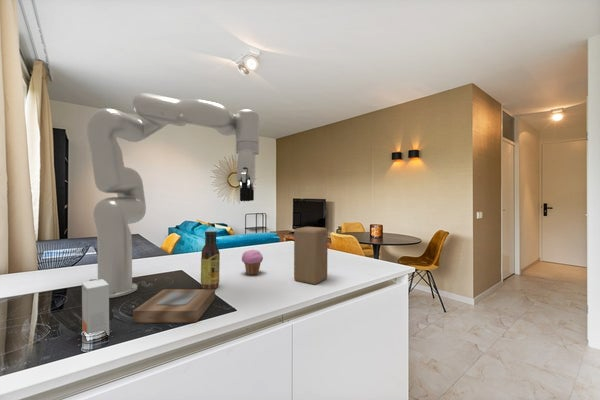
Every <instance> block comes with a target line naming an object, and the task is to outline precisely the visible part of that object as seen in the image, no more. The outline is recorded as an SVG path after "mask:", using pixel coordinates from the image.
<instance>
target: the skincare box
mask: <svg viewBox="0 0 600 400" xmlns="http://www.w3.org/2000/svg"><path fill="white" fill-rule="evenodd" d="M81 305H82V306H81V311H82V312H81V313H82V314H81V315H82V316H81V317H82V320H81V321H82V322H81V323H82V324H81V325H82V326H81V327H82V331H85V332H86V333H87V334H89V333H93V332H98V331H106V333H107V335H108V336H110V298H109V284H108V283H107V282H106V281H104V280H103V279H100V280H94V281H89V280H88V281H84V282H82V283H81ZM108 336H107V337H108Z"/></svg>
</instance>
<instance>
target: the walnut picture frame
mask: <svg viewBox="0 0 600 400" xmlns="http://www.w3.org/2000/svg"><path fill="white" fill-rule="evenodd" d="M215 300H216V288H214V289H202V288H201V289H199V288H195V289H189V288H188V289H185V288H184V289H179V288H177V289H175V288H174V289H173V288H172V289H171V288H169V289H167V288H166V289H165V288H164V289H162V290H161V291H159V292H157V293H156V294H155V295H154V296H152V297H151V298H149V299H148V300H147V301H145V302H143V303H142V304H141V305H139V306H138V307H137V308H135V309H133V310H132V323H134V324H135V323H141V324H142V323H147V324H149V323H154V324H155V323H157V324H158V323H160V324H161V323H168V324H169V323H174V324H175V323H178V324H179V323H181V324H182V323H189V324H190V323H192V324H193V323H197V322H198V321H199V320H200V319H201V317H202V316H203V315H204V314H205V312H206V311H207V310H208V309H209V307H210V306H211V304H212V303H213V302H214V301H215Z"/></svg>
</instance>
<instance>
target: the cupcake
mask: <svg viewBox="0 0 600 400" xmlns="http://www.w3.org/2000/svg"><path fill="white" fill-rule="evenodd" d="M263 260H264V257H263V254H262V253H261V251H259V250H255V249H249V250H246V251H244V252H243V253H242V256H241V262H242V263H244V269H245V272H246V274H247V275H249V276H250V275H252V276H253V275H254V276H255V275H259V273H260V267H261V263H263Z"/></svg>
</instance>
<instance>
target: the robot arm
mask: <svg viewBox="0 0 600 400" xmlns="http://www.w3.org/2000/svg"><path fill="white" fill-rule="evenodd" d="M132 108H133V111H134V112H135V113H136V116H132V115H130V114H127V113H125V112H124V111H121V110H119V109H115V108H110V107H107V108H105V107H104V108H100V109H98V110H96V111H95V112H94V113H92V115H91V116H90V117H89V119H88V122H87V124H86V136H87V137H86V138H87V140H88V144H89V145H88V146H89V148H90V154H91V155H90V156H91V163H92V171H93V176H94V177H93V178H94V179H93V180H94V182H95V183H94V184H95V186H96V189H97V190H99V191H100V192H102V193H106V194H116V195H117V196H113V197H105V198H102V199H101V200H100V201H99V202H97V203H96V204H95V206H94V208H93V220H94V223H95V228H96V238H97V241H96V243H97V245H96V246H97V279H96V278H95V279H93V278H92V279H89V280H88V281H94V280H100V279H103V280H104V281H106V282H107V283H108V284H109V299H113V298H119V297H122V296H126V295H129V294H133V293H134V292H135V291H137V290H138V284H137V283H134V282H133V237H132V233H131V229H130V227H129V225H130V224H136V223H139V222H140V221H142V220H143V219H144V217H145V215H146V211H147V206H146V199H145V191H144V184H143V179H142V177H141V175H140V173H138V171H136V169H134V168H131V167H128V166H127V167H126V166H125V163H124V158H123V157H124V156H123V152H122V149H121V146H120V145H119V143H118V140H117V138H119V139H122V140H123V141H124V140H125V141H128V142H133V143H137V142H140V141H143V140H145V139H147V138H149V137H151V136H152V135H153V134H156V133H157V132H158V131H161V130H162V129H164V128H165V127H166V126H168V125H172V126H177V127H184V126H187V124H194V125H200V126H205V127H209V128H212V129H214V130H215V131H217V132H218V133H219V134H221V135H223V136H234V135H235V154H236V155H237V165H236V182H237V183H239V184H240V185H239V187H240V188H239V201H240V202H250V201H251V202H252V201H254V200H255V198H254V197H255V195H254V194H255V190H254V183H255V180H256V155H259V154H260V115H259V113H258V112H257V111H255V110H253V109H247V108H245V109H240V110H238V111H237V112H236V114H235V113H233V112H231V111H230V109H228V107H226V106H225V105H223V104H220V103H218V102H214V101H213V102H212V101H208V100H203V99H196V98H194V99H193V98H192V99H190V98H189V99H179V98H175V97H174V98H173V97H169V96H165V95H159V94H155V93H150V92H141V93H138V94H136V95H135V96H134V97H133V98H132Z"/></svg>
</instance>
